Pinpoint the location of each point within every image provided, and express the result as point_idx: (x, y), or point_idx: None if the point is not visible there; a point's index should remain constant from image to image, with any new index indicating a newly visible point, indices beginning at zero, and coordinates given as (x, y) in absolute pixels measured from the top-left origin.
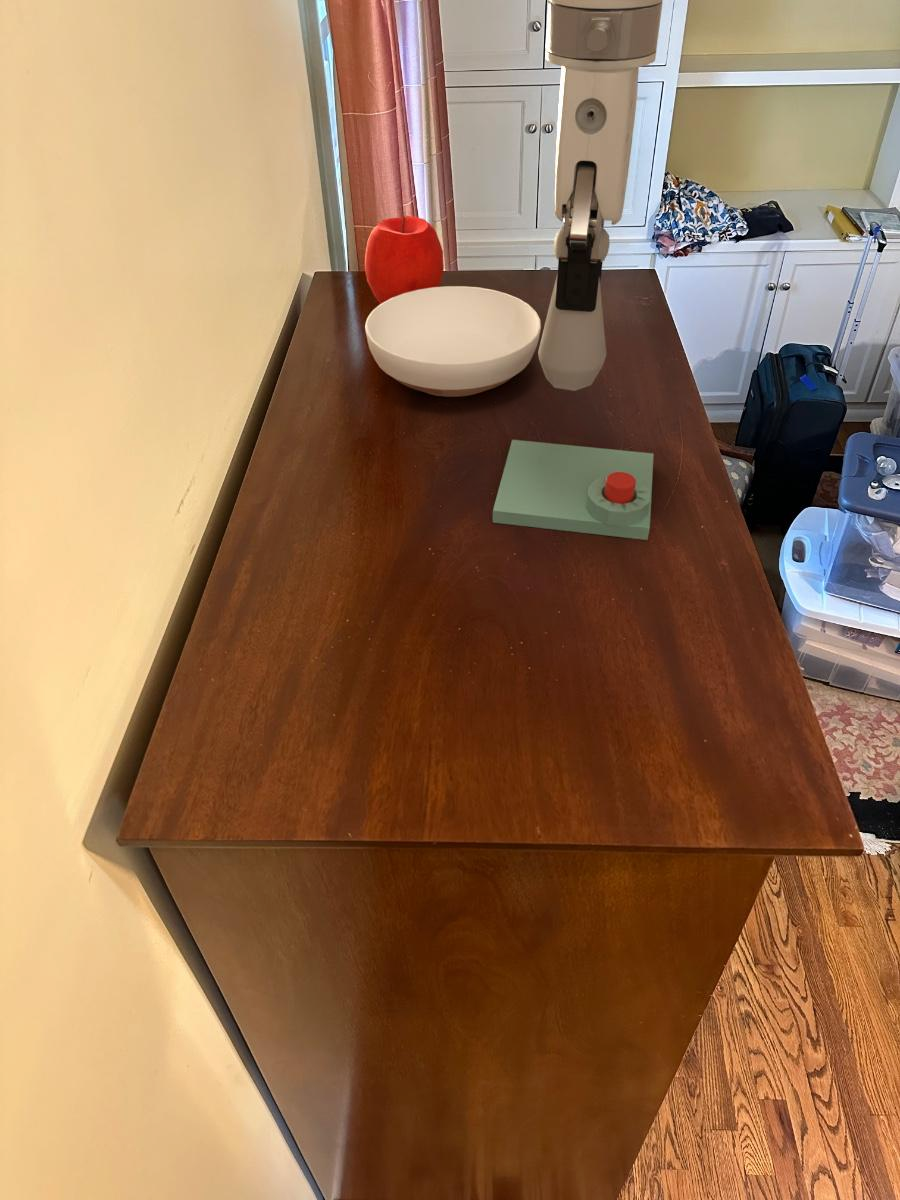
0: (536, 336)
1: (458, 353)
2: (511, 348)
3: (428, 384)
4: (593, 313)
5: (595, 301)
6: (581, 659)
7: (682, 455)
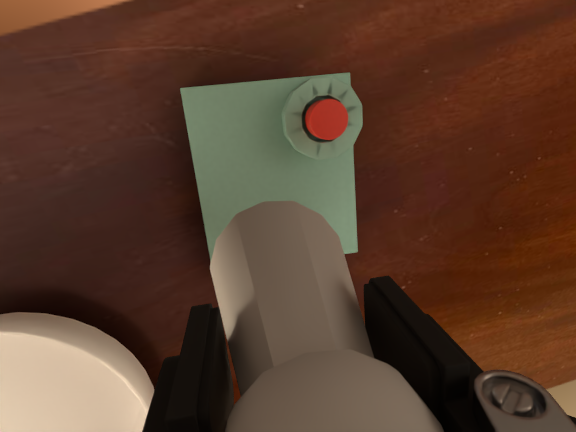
0: None
1: (7, 400)
2: None
3: None
4: (335, 272)
5: (395, 286)
6: (526, 115)
7: (139, 46)
